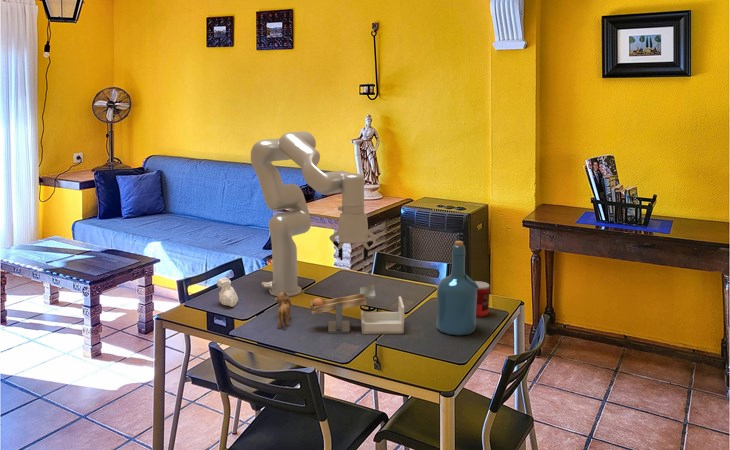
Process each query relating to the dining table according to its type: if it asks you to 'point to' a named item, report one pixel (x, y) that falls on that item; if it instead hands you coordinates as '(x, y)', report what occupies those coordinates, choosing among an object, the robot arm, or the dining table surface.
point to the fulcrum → (338, 322)
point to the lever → (345, 301)
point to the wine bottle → (457, 297)
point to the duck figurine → (227, 292)
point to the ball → (317, 302)
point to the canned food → (482, 299)
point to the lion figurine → (283, 308)
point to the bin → (383, 321)
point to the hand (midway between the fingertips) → (353, 259)
